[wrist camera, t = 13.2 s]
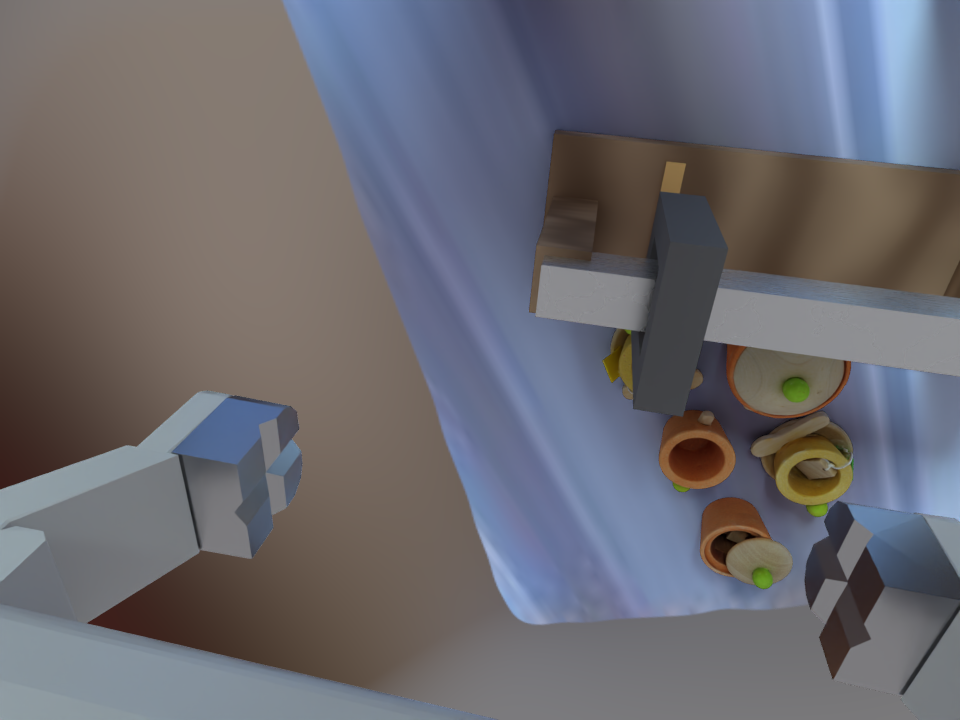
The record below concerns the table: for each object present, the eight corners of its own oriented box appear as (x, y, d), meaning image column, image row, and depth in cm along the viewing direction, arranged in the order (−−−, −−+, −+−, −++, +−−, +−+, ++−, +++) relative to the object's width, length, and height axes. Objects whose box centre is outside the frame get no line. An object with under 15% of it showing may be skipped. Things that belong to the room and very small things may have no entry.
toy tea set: (587, 314, 49) (580, 376, 41) (800, 238, 43) (843, 292, 35) (695, 554, 58) (707, 644, 50) (882, 517, 53) (931, 612, 44)
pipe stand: (536, 293, 48) (509, 386, 37) (556, 129, 42) (530, 177, 31) (960, 351, 44) (1084, 476, 32) (1048, 179, 38) (1238, 255, 27)
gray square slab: (631, 332, 40) (633, 408, 33) (660, 191, 36) (670, 241, 28) (671, 337, 40) (682, 416, 32) (705, 196, 35) (728, 248, 28)
